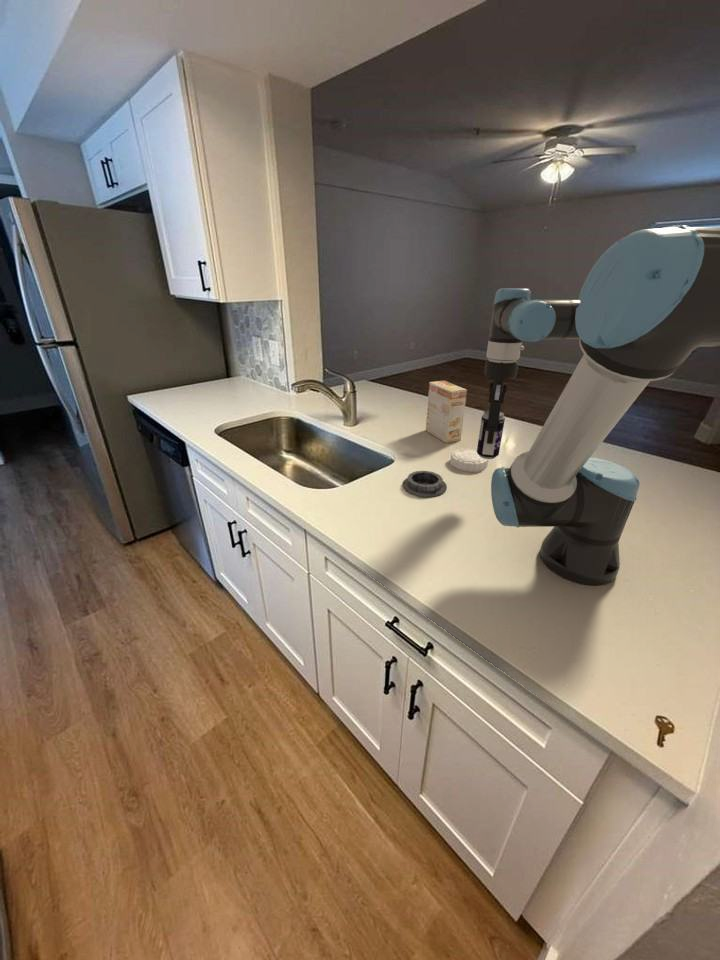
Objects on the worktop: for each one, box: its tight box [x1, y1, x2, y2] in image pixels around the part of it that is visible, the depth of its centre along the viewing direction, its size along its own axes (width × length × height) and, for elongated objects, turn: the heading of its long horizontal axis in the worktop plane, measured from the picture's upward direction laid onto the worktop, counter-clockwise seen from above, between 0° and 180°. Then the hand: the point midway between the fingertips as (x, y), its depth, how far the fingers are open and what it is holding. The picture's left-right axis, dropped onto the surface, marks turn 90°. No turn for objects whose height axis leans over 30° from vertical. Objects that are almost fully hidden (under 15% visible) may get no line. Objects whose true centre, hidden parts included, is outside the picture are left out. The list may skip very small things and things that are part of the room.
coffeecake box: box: [425, 380, 468, 444], centre depth 147 cm, size 15×7×20 cm, turn 22°
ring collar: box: [402, 470, 448, 498], centre depth 115 cm, size 13×13×3 cm
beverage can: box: [476, 409, 506, 460], centre depth 102 cm, size 6×6×12 cm
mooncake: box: [449, 448, 489, 473], centre depth 128 cm, size 12×12×4 cm
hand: (488, 449), depth 103 cm, fingers closed on beverage can, 6 cm apart
